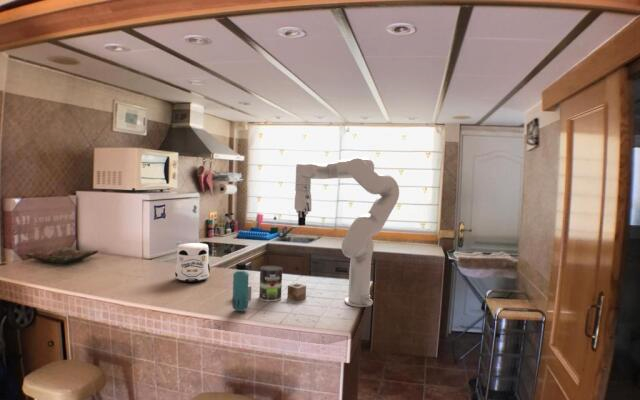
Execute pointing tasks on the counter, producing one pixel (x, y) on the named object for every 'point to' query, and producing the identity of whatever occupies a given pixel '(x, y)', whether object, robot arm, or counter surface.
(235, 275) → the beverage bottle
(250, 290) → the grey dotted block
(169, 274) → the counter surface
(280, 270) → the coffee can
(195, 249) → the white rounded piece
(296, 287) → the walnut dotted block
